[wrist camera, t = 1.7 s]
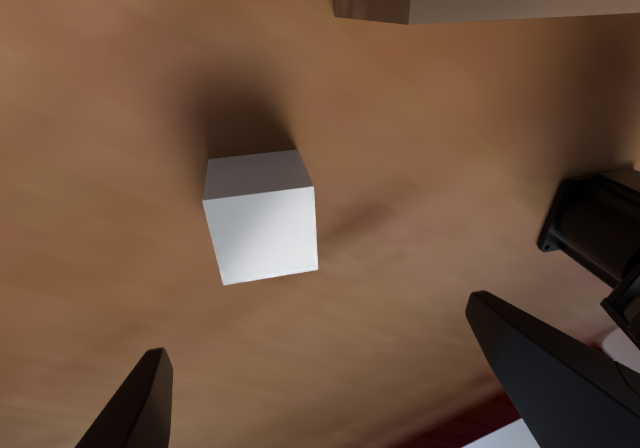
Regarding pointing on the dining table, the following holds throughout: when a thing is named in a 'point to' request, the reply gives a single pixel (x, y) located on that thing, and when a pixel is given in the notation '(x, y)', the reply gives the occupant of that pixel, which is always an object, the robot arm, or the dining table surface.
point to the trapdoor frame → (475, 9)
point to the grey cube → (261, 215)
